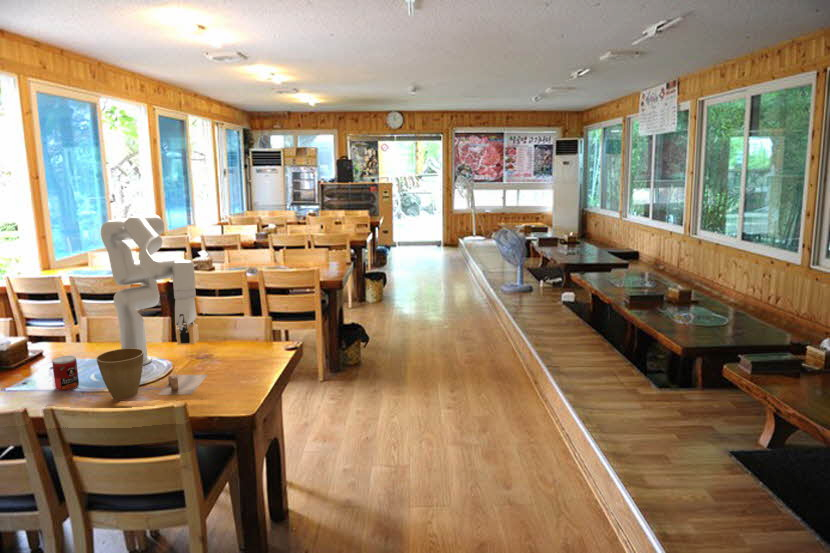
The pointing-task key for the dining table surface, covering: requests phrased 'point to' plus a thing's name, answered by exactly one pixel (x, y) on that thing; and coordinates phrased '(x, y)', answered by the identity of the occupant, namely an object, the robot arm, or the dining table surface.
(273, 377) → the dining table surface
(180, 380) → the junction board
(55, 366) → the canned food
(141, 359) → the plant pot
